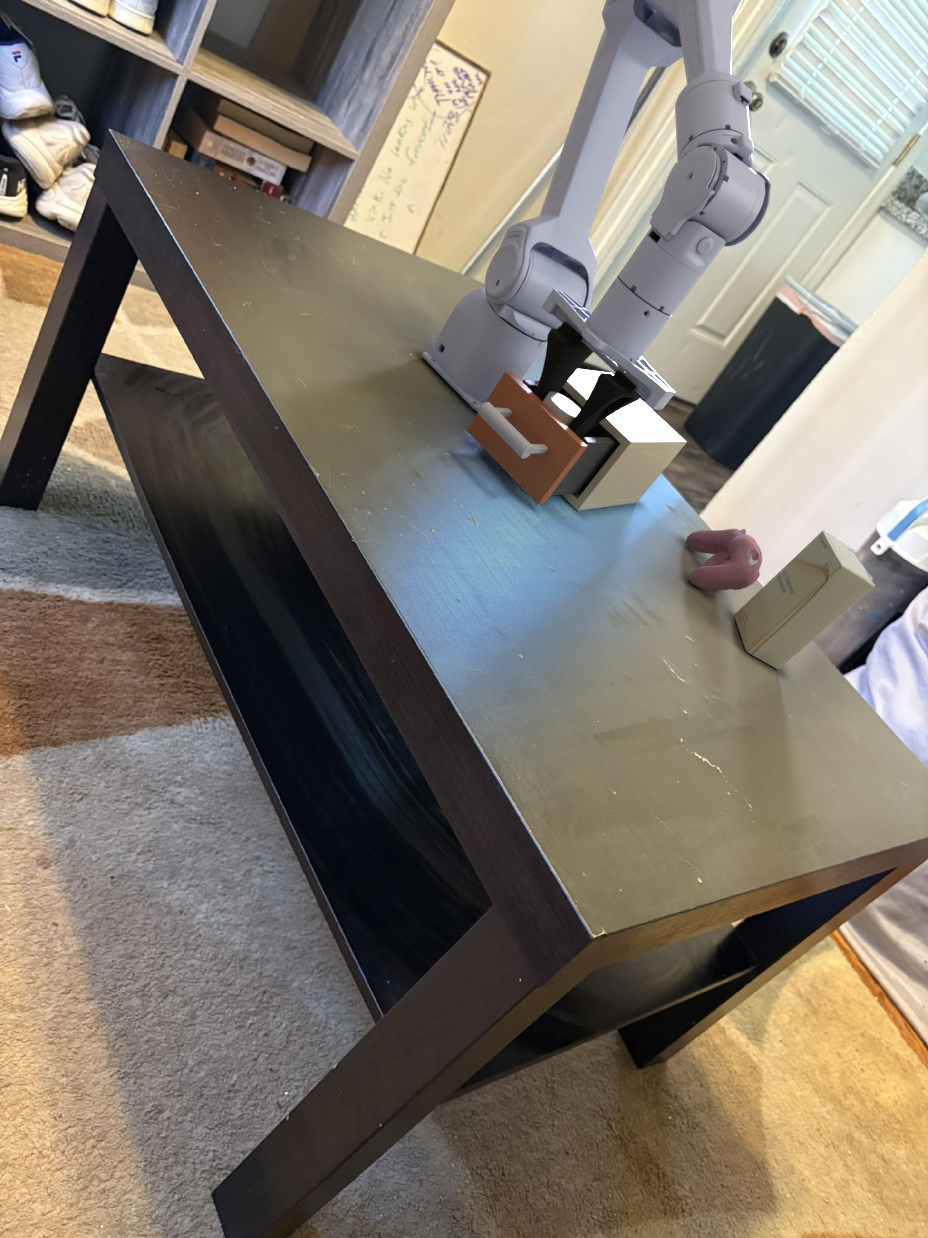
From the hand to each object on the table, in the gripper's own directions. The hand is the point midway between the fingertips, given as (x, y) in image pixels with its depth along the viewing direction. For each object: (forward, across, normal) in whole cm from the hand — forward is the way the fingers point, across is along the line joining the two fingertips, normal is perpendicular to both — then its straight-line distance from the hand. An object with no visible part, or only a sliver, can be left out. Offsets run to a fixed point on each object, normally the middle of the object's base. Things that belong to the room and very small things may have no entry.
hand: (553, 422), depth 81 cm
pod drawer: (+5, 0, 0) cm, 5 cm away
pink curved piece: (+6, +17, +17) cm, 25 cm away
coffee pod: (+1, 0, 0) cm, 1 cm away
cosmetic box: (+6, +26, +13) cm, 30 cm away
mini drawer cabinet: (+6, 0, +11) cm, 12 cm away
